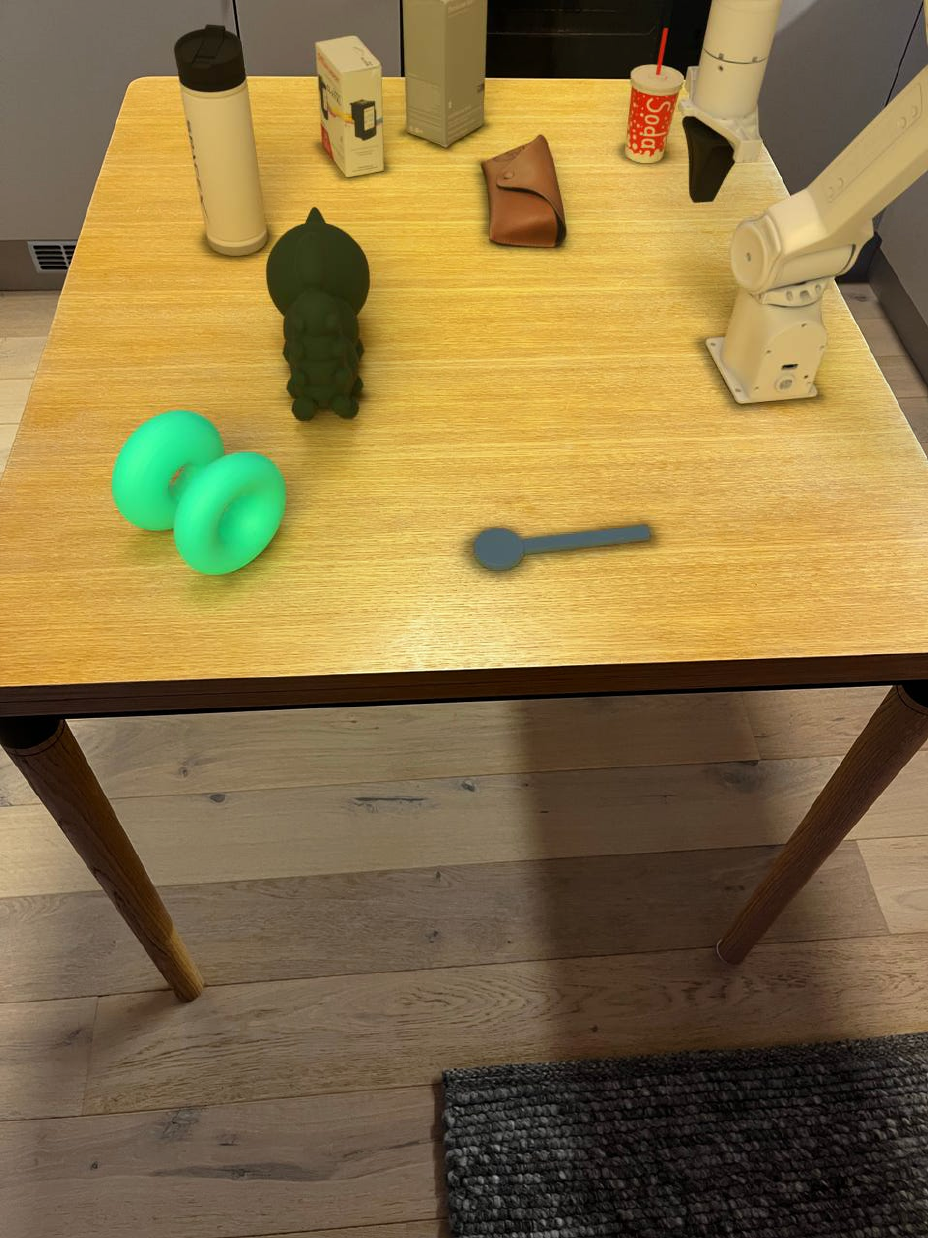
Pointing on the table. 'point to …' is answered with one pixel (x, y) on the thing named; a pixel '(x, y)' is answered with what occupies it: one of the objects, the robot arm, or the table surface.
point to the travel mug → (222, 139)
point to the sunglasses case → (525, 197)
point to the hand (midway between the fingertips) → (701, 198)
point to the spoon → (545, 544)
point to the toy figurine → (320, 314)
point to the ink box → (350, 105)
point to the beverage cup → (651, 108)
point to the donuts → (199, 491)
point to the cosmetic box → (444, 67)
